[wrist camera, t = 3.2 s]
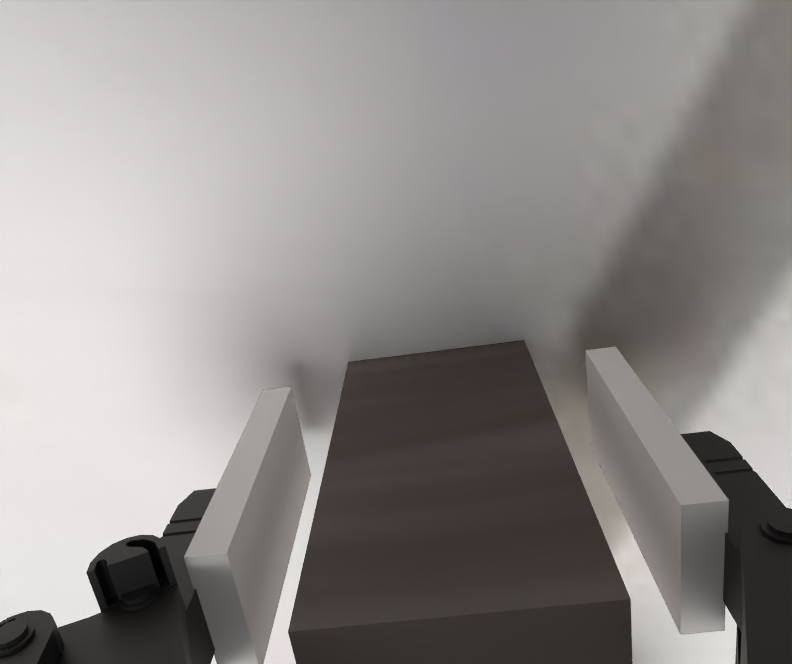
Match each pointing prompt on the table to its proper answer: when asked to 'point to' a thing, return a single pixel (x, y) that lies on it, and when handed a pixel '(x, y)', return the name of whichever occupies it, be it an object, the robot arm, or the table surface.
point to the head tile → (455, 524)
